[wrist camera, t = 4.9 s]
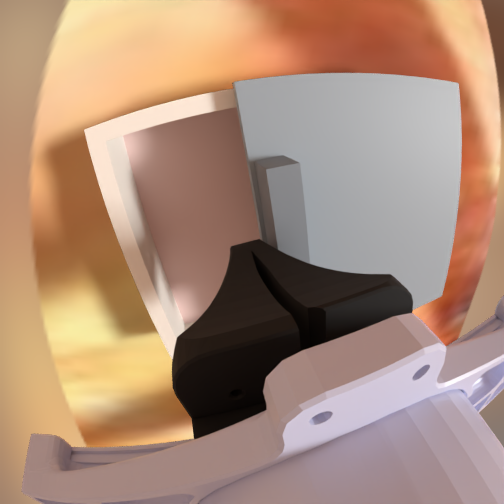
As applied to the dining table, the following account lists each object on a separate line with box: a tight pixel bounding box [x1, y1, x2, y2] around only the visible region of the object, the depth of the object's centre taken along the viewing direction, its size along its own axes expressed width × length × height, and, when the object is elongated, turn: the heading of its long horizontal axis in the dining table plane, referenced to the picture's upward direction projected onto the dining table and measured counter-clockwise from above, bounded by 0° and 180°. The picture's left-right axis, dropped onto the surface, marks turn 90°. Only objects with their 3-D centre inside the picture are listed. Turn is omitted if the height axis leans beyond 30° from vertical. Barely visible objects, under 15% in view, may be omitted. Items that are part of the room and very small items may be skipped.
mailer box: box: [84, 89, 260, 360], centre depth 15 cm, size 14×12×4 cm
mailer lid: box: [232, 73, 462, 309], centre depth 13 cm, size 14×12×2 cm
